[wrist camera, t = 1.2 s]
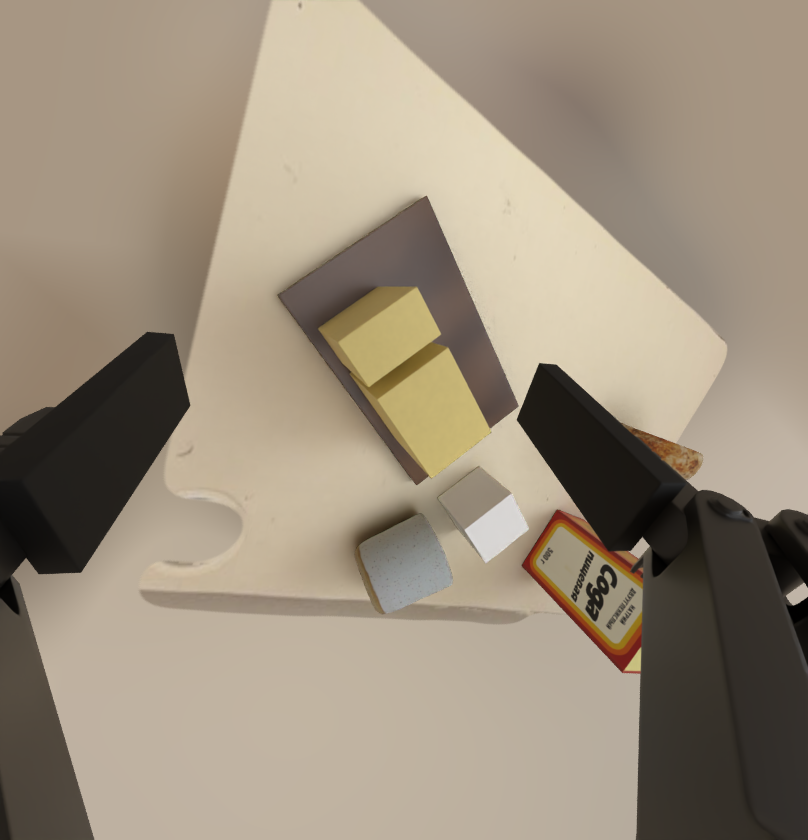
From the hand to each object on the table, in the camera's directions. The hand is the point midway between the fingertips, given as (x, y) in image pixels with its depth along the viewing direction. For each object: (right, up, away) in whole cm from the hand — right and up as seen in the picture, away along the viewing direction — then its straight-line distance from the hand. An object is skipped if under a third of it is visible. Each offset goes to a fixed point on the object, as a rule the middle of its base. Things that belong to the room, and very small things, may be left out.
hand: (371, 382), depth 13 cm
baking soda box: (+23, -19, +37) cm, 47 cm away
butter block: (+1, +1, +19) cm, 19 cm away
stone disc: (+29, -3, +34) cm, 44 cm away
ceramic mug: (0, -16, +27) cm, 31 cm away
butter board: (+2, +4, +20) cm, 20 cm away
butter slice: (-2, +6, +16) cm, 17 cm away
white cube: (+9, -11, +28) cm, 31 cm away
